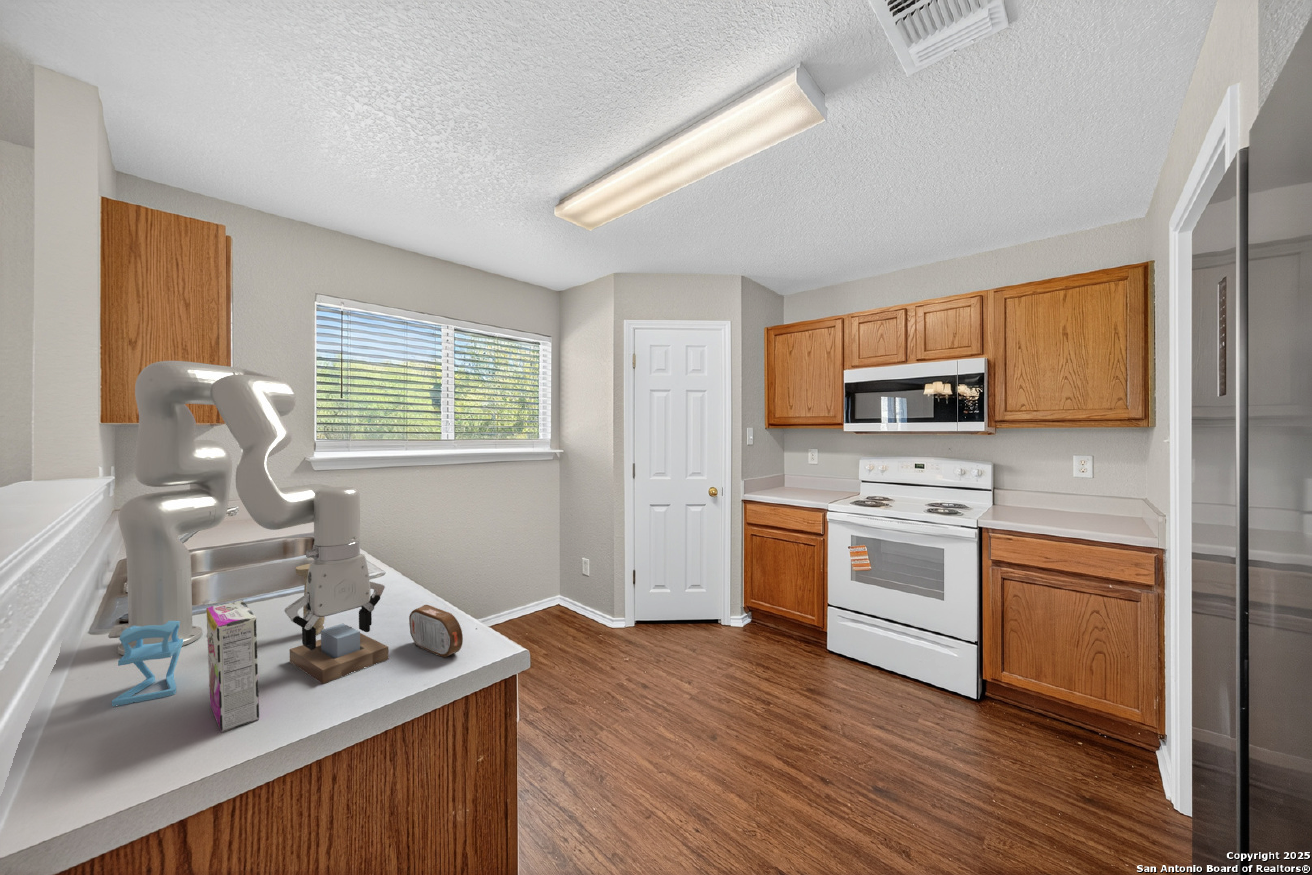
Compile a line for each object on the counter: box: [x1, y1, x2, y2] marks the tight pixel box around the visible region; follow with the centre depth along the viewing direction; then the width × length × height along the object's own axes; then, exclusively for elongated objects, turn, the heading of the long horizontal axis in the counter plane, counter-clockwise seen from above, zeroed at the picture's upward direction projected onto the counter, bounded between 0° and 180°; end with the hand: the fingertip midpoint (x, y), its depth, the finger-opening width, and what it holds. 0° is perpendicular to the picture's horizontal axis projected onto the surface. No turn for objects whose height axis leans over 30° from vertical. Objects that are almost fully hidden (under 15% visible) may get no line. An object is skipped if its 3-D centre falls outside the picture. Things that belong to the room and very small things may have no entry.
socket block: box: [289, 632, 389, 685], centre depth 98 cm, size 12×14×4 cm
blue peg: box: [320, 623, 361, 659], centre depth 98 cm, size 4×7×6 cm, turn 55°
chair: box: [111, 621, 183, 707], centre depth 87 cm, size 8×8×12 cm
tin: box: [408, 604, 464, 658], centre depth 102 cm, size 15×3×8 cm, turn 57°
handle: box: [295, 563, 326, 636], centre depth 110 cm, size 5×6×15 cm
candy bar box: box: [205, 599, 260, 733], centre depth 80 cm, size 11×5×16 cm, turn 48°
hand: (338, 638), depth 98 cm, fingers open, 9 cm apart
